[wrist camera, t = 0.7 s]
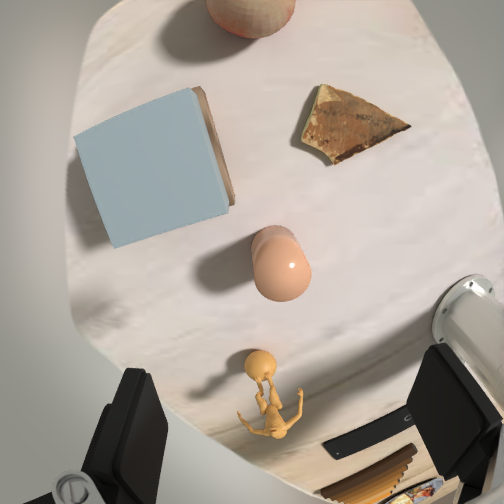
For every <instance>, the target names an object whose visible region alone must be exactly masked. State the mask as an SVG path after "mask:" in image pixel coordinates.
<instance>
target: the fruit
mask: <svg viewBox="0 0 504 504" xmlns="http://www.w3.org/2000/svg"><path fill="white" fill-rule="evenodd" d="M206 6H207V9H208V12H209V14H210V16H211V17H212V19H213V20H214V21H215V22H216V23H217V24H218V25H219V26H220V27H222V28H223V29H225V30H226V31H228V32H230V33H233V34H235V35H238V36H241V37H245V38H263V37H267V36H270V35H272V34H274V33H276V32H277V31H279V30H280V29H281V28H282V27H284V26H285V24H286V23H287V22H288V21H289V20H290V18H291V16H292V14H293V12H294V8H295V0H206Z"/></svg>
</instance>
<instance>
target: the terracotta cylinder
mask: <svg viewBox="0 0 504 504" xmlns="http://www.w3.org/2000/svg"><path fill="white" fill-rule="evenodd" d="M251 253H252V262H253V271H254V280H255V285H256V287H257V289H258V291H259V292H260V293H261V294H262V295H263V296H264V297H266V298H267V299H270V300H272V301H277V302H285V301H290V300H293V299H295V298H297V297H299V296H300V295H301V294H302V293H303V292H304V291H305V290H306V289H307V287H308V286H309V284H310V281H311V268H310V265H309V263H308V261H307V259H306V257H305V255H304V253H303V251H302V249H301V247H300V245H299V243H298V241H297V239H296V238H295V236H294V234H293V233H292V232H291V231H290V230H289V229H287V228H285V227H282V226H277V225H274V226H268V227H265V228H263V229H262V230H260V231H259V232H258V233H257V234H256V235H255V237H254V238H253V241H252V244H251Z"/></svg>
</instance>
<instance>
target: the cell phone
mask: <svg viewBox="0 0 504 504" xmlns="http://www.w3.org/2000/svg"><path fill="white" fill-rule="evenodd" d="M413 425H415V423H414V421H413V419H412V417H411V415H410V413H409V411H408V409H407V404H406V405H404V406H402V407H400V408H398V409H396V410H394V411H392V412H390V413H389V414H387V415H385V416H382V417H380V418H378V419H376V420H374V421H372V422H370V423H368V424H366V425H363V426H361V427H359V428H357V429H354V430H352V431H350V432H348V433H345V434H343V435H340V436H338V437H335V438H333V439H330V440H328V441H325V442H324V443H323V444H324V447H325V448H326V449H327V450H328V451H329V453H330V454H331V455H332V456H333V457H334V458H335V459H336V460H339V459H341V458H344V457H347V456H349V455H352V454H354V453H356V452H359V451H361V450H364V449H366V448H368V447H370V446H373V445H375V444H377V443H379V442H381V441H383V440H386V439H388V438H390V437H392V436H394V435H396V434H398V433H400V432H402V431H404V430H406V429H407V428H409V427H411V426H413Z"/></svg>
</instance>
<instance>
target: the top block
mask: <svg viewBox="0 0 504 504" xmlns="http://www.w3.org/2000/svg"><path fill="white" fill-rule="evenodd" d="M74 139H75V142H76V146H77V149H78V152H79V156H80V159H81V162H82V165H83V168H84V171H85V174H86V177H87V180H88V183H89V186H90V189H91V191H92V194H93V197H94V200H95V202H96V205H97V208H98V210H99V213H100V216H101V218H102V221H103V223H104V226H105V228H106V231H107V233H108V236H109V238H110V241H111V243H112V245H113V248H114V249H115V248H118V247H121V246H124V245H127V244H130V243H133V242H136V241H139V240H143V239H146V238H149V237H152V236H155V235H158V234H161V233H164V232H168V231H171V230H174V229H177V228H180V227H184V226H187V225H190V224H193V223H197V222H200V221H203V220H207V219H210V218H213V217H217V216H220V215H224V214H227V213H228V208H229V199H228V196H227V193H226V189H225V186H224V183H223V180H222V176H221V173H220V170H219V167H218V163H217V160H216V157H215V154H214V150H213V147H212V144H211V141H210V137H209V134H208V131H207V128H206V124H205V121H204V118H203V114H202V111H201V108H200V105H199V101H198V98H197V95H196V93H195V92H194V91H192V90H191V89H190V88H186V89H183V90H180V91H177V92H174V93H172V94H169V95H166V96H163V97H161V98H158V99H155V100H153V101H150V102H148V103H145V104H143V105H140V106H138V107H136V108H133V109H131V110H128V111H126V112H124V113H122V114H119V115H117V116H115V117H113V118H111V119H108V120H106V121H104V122H102V123H100V124H98V125H96V126H94V127H92V128H90V129H88V130H86V131H84V132H82V133H80V134H78V135H76V136H74Z"/></svg>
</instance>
